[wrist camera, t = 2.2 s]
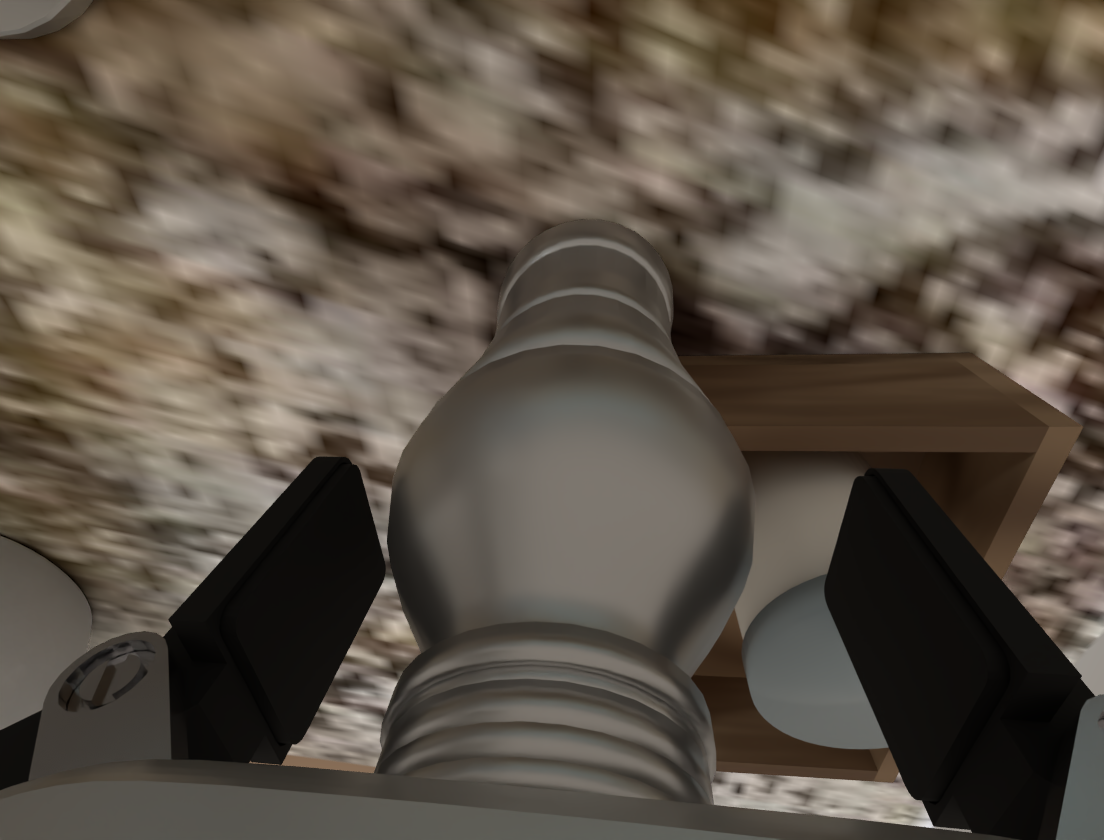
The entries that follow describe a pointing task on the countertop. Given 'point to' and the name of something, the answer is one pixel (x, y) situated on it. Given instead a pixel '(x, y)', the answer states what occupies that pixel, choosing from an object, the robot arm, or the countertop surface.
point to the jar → (801, 601)
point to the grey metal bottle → (568, 540)
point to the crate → (884, 442)
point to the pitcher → (36, 629)
